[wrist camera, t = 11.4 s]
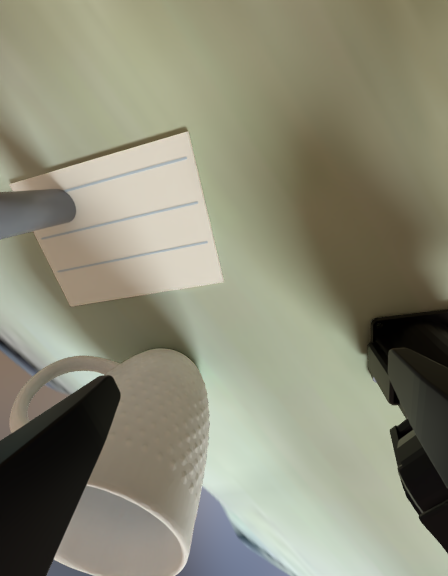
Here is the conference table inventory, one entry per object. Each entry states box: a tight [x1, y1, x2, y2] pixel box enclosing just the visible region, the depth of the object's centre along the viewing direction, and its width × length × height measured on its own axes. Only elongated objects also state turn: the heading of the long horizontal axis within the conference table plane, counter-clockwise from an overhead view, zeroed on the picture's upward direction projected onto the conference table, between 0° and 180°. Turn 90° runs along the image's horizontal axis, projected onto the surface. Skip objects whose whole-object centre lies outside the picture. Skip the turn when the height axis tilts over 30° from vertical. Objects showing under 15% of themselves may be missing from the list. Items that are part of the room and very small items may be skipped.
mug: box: [9, 348, 210, 576], centre depth 20 cm, size 15×11×13 cm
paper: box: [9, 131, 224, 307], centre depth 20 cm, size 15×11×1 cm
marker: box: [0, 189, 76, 239], centre depth 15 cm, size 3×3×10 cm
